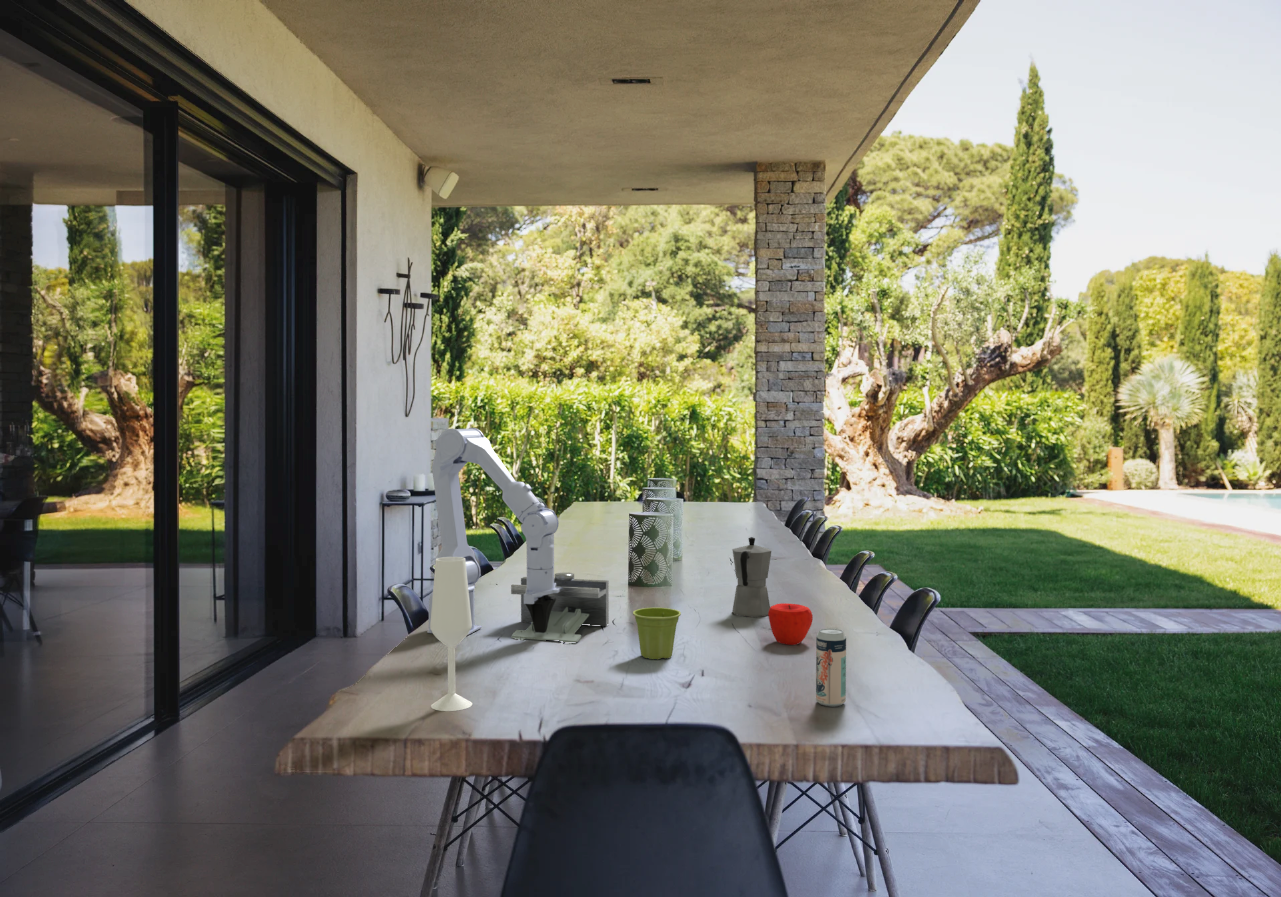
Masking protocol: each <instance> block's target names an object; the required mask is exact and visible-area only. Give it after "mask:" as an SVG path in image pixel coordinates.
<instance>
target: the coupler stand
mask: <svg viewBox="0 0 1281 897" xmlns="http://www.w3.org/2000/svg"><path fill="white" fill-rule="evenodd" d="M554 583H556V588H559V589H560V592H558V593H552V594H548V596H551V597H556V601H555V603H554V605H553V607H552V610H551V611H558V612H563V611H564V610H565V608H566V607H568V612H571V613H575V611H576V609H580V610H581V613H585V614H589V616H588V617H587V619H586V620H585V621H584V622H583V624H590V625H601V626H607V624H609V623H610V622H609V618H610V616H609V614H610V613H609V611H610V610H609V609H610V608H609V600H610V598H609V597H610V596H609V595H610V594H609V592H610V590H609V583H610V582H609V580H603V579H602V580H601V579H580V578H579V579H578V578H575V573H574V572H557V573H554ZM526 588H527V576H523V577H520V584H510V589H511V590H510V594H511V595H520V622H521V623H525V622H529V623H528V624H531V623H530V622H532V618H531V614H530V612H529V610H528V608H527V606H526V604H524V594H525V593H526ZM607 627H608V626H607Z"/></svg>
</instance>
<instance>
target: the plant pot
mask: <svg viewBox="0 0 1281 897" xmlns="http://www.w3.org/2000/svg"><path fill="white" fill-rule="evenodd" d="M632 614H633V616H634V618H635V622H636V626H637V633H638V634H637V635H638V641H639V642H638V643H639V649H640V656H641V657H643V658H645V659H647V658H649V659H648V660H654V659H657V660H661V659H663V658H664V659H666V658H667V659H670V658H672V657H673V652H674V645H675V644H674V643H675V636H676V630H677V626H678V625H677V624H678V623H679V617H681V615H682V612H681V611H680V610H679V609H673V608H668V607H644V608H638V609H635V610H633V611H632Z"/></svg>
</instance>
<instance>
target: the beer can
mask: <svg viewBox="0 0 1281 897" xmlns="http://www.w3.org/2000/svg"><path fill="white" fill-rule="evenodd" d="M815 642H816V643H815V644H816V646H815V647H816V648H815V649H816V650H815V651H816V652H815V654H816V655H815V656H816V657H815V701H816V702H817V703H819V704H820V705H821V706H824V707H830V708H831V707H833V708H834V707H835V708H836V707H840V706H842V705H843V704H845V703H846V700H847V699H846V695H847V692H846V691H847V689H846V688H847V683H846V682H847V636H846V634H845V632H844V631H843V629H838V628H821V629H819V630H818V633H817V634H816V640H815Z"/></svg>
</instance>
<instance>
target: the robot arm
mask: <svg viewBox="0 0 1281 897" xmlns="http://www.w3.org/2000/svg"><path fill="white" fill-rule="evenodd" d="M434 442H435V453H434V457H433V461H432V465H431V471H432V479H433V480H432V481H433V487H434V494H435V504H436V509H437V510H436V512H437V519H438V528H439V534H440V542H441V548H440V551H439V552H438V554H437V555H436V558H435V560H436V559H437V558H442V557H463V558H465V561H466V571H467V581H468V591H469V600H470V610H471V620H472V628H471V630H470V632H469V633H468V635H470V634H472V633H474V632H476V631H478V630H480V629H482V627H483V626H482V625H478V624H475V623H476V620H475V618H476V614H475V613H476V612H475V611H476V610H475V606H476V604H475V603H476V602H475V600H476V599H475V592H476V591H475V589H476V583H477V582H479V579H480V577H481V575H482V574H481V572H482V571H481V567H480V564H479V562H478V561H477V559H476V555H475V554H476V553H475V551H474V549H472V548H471V546H469V544H468V540H467V532H466V531H467V530H466V523H465V515H464V507H463V500H462V498H463V497H462V492H461V483H460V476H459V473H460V472H461V470H462V469H463V468H464V467H465V465H466V464H467V463H471V464H477V465H479V467H480V468H481V469H482V470H483V471H484V472H485V473H486V474H487V476H488V477H489V478H491V480H492V481H493V482H494V483H495V484H496V485H497V486H498V488H500V490H502V496H501V497H502V500H503V502H504V503H505V505H507V507H508V509H510V511H511V512H512V513H513V514H514V515H515V517H516V519H518V520H519V522H520V523H522V524H520V530H521V533H522V534H523V535H524V537H525V543H526V577H527V588H526V593H525V594H524V604H526V606H527V608H528V610H529V612H530V614H531V618H532V622H533V626H534V630H535V632H537V633H545V632H546V630H547V626H548V621H549V617H550V613H551V610H552V607H553V605H554V603H555V601H556V597H551V596H548V594H552V593H558V592H560V589H559V588H556V583H554V578H555V534H556V532H557V531H558V529H559V523H560V522H559V518H558V515H556V512H555V511H554V510H553V509H550V508H546V505H545V504H544V503H543V502H541V501H539V499H538V498H537V497H536V496H535V495H534V493H533V492H532V491H531V490H532V489H533V488H532V487H531V485H530V484H525V482H524V481H516V480H515V478H514V477H513V475H512V474H511V473H510V471H509V470H508V469H507V467H506V466H505V464H504V463H503V462H502V460H501V458H499V456H498V454H497V453H496V452H495V451H494V449H493V448H492V444H491V441H490V440H489V439H488V438H487V437H485V435H484V433H483V432H482V431H481V430H480V429H479V428H476V427H469V428H458V429H457V428H448V429H445V430H443V431H442V433H441V434H440V435H439V436H438V437H437V439H436V440H434ZM434 575H435V571H434V573H433V576H434ZM432 599H433V591H432V592H431V593H430V595H429V598H428V600H429V601H428V630H427V633H428V634H433V633H432V631H431V629H430V622H431V611H432ZM468 635H467V636H468Z"/></svg>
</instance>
